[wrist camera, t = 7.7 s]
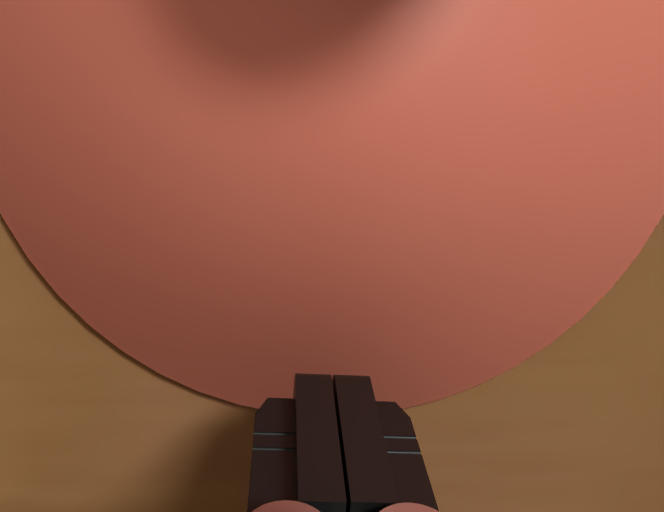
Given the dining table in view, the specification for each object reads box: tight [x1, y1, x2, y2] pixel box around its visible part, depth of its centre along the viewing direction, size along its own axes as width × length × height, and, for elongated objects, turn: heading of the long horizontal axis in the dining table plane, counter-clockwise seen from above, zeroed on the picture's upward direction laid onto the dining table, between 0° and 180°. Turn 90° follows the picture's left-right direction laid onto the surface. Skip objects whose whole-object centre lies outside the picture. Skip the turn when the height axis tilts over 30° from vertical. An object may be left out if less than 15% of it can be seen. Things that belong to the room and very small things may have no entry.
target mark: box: [0, 0, 664, 409], centre depth 12 cm, size 14×14×1 cm
